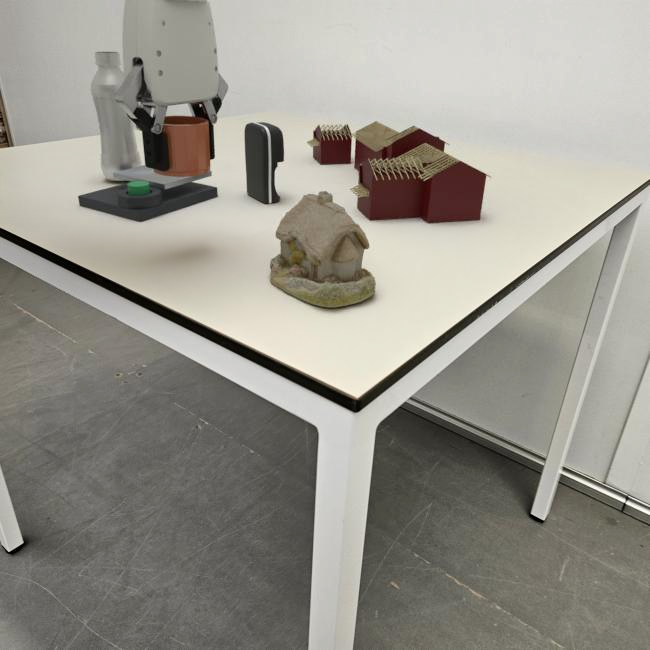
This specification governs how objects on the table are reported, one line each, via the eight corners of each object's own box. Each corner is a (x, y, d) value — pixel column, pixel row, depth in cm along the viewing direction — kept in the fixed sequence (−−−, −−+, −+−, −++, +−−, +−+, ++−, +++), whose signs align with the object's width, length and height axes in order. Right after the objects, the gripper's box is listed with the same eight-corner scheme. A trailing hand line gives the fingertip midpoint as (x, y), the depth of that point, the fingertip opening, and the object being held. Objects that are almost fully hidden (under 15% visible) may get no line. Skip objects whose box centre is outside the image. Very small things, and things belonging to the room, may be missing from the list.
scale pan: (165, 189, 87) (164, 184, 87) (113, 177, 92) (112, 172, 92) (212, 176, 94) (211, 170, 94) (161, 165, 100) (161, 160, 99)
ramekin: (182, 180, 65) (178, 127, 63) (140, 170, 68) (135, 119, 66) (222, 169, 70) (220, 120, 68) (181, 160, 73) (178, 113, 71)
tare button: (138, 198, 84) (137, 187, 83) (124, 195, 85) (122, 184, 85) (155, 193, 86) (153, 183, 85) (140, 190, 88) (139, 179, 87)
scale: (140, 222, 83) (137, 200, 82) (79, 206, 90) (75, 184, 88) (218, 197, 95) (216, 177, 94) (159, 184, 102) (157, 164, 100)
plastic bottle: (96, 179, 103) (76, 51, 94) (133, 173, 107) (118, 50, 98) (113, 187, 99) (94, 54, 90) (150, 181, 103) (136, 53, 94)
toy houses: (496, 218, 89) (508, 148, 84) (364, 226, 84) (368, 153, 80) (392, 153, 127) (396, 102, 123) (297, 156, 123) (297, 103, 118)
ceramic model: (251, 268, 70) (248, 182, 65) (334, 252, 75) (336, 172, 70) (311, 317, 59) (313, 219, 55) (402, 294, 65) (410, 203, 60)
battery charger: (287, 202, 94) (287, 126, 88) (265, 205, 92) (264, 128, 87) (266, 191, 99) (265, 119, 94) (245, 194, 97) (242, 120, 92)
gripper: (200, -13, 69) (208, 147, 77) (71, -22, 56) (97, 171, 64) (252, -11, 66) (254, 156, 74) (127, -20, 52) (146, 183, 61)
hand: (181, 161), depth 69 cm, fingers closed on ramekin, 6 cm apart
